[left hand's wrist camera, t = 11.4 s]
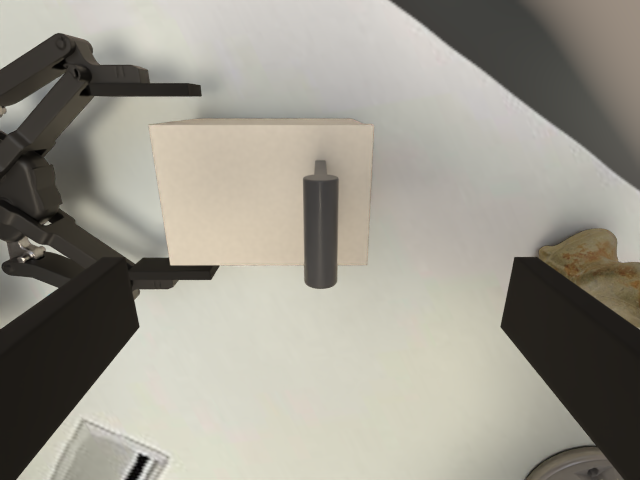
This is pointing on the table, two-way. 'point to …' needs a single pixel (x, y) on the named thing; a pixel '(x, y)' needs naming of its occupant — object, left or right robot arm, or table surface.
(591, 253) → the sculpture
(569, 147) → the table surface
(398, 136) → the table surface
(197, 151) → the lid
